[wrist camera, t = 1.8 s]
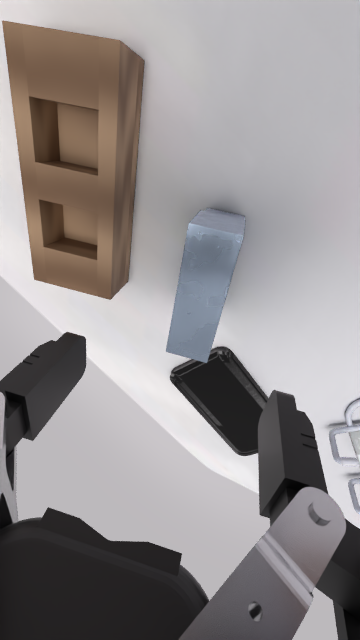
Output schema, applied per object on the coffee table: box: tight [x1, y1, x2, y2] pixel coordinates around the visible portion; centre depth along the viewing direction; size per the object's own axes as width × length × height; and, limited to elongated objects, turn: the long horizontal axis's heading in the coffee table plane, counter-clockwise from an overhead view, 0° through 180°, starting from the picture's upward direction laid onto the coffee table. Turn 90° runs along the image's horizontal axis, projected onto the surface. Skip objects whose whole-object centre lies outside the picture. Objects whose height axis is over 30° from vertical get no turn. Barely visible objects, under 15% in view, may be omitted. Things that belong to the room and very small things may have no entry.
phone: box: [170, 347, 269, 456], centre depth 32 cm, size 8×1×15 cm
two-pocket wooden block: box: [2, 21, 144, 300], centre depth 21 cm, size 16×7×4 cm, turn 171°
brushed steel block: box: [166, 208, 246, 363], centre depth 21 cm, size 9×3×8 cm, turn 171°
